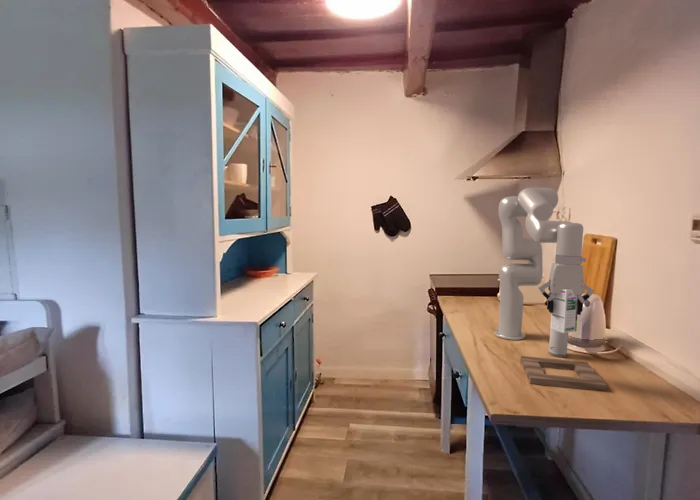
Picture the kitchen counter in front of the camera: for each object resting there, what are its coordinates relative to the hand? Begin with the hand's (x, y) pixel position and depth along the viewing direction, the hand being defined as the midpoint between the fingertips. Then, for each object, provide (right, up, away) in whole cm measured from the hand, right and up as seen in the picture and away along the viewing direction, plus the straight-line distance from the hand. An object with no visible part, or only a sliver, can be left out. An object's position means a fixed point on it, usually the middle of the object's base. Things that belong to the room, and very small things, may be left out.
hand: (564, 312), depth 145 cm
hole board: (0, -21, +2) cm, 22 cm away
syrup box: (0, -6, +1) cm, 6 cm away
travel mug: (+8, -19, +22) cm, 30 cm away
